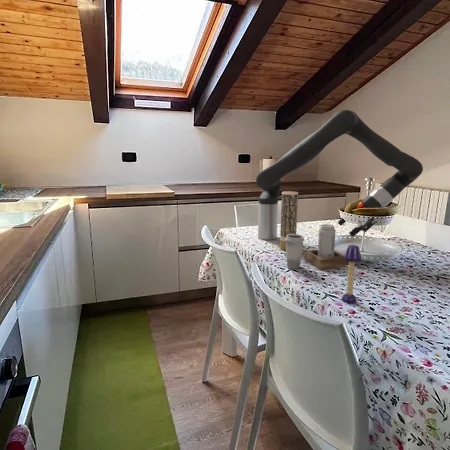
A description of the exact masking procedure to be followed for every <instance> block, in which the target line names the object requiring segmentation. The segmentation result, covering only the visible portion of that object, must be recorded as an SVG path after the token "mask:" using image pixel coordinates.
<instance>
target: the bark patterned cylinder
mask: <svg viewBox="0 0 450 450" xmlns="http://www.w3.org/2000/svg"><path fill="white" fill-rule="evenodd" d="M298 202H299V192H298V191H292V190H291V191H290V190H287V191H286V190H285V191H282V192H281V206H280V207H281V209H280V210H281V211H280V212H281V213H280V237H279V238H280V239H279V248H280V250H283V251H286V240H285V238H286V236H287V235H289V234H297V225H298V205H299V203H298Z"/></svg>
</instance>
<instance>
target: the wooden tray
mask: <svg viewBox="0 0 450 450" xmlns="http://www.w3.org/2000/svg"><path fill="white" fill-rule="evenodd" d="M304 252H305V253H304V255H305V256H304V261H305V262H306V263H308V264H310V265H311V266H313V267H315V268H317V269H318V270H320V271H325V270H332V269H339V268H346V267H347V260H345V259H344V256H345V254H342V253H340V252H338V251H336V250H334V257H331V258H321V257H319V256H318V249H313V250H306V251H304Z"/></svg>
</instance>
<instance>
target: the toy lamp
mask: <svg viewBox="0 0 450 450" xmlns="http://www.w3.org/2000/svg"><path fill="white" fill-rule="evenodd" d="M344 255H345V256H344V259H345V260H347V261H348V265H347V266H348V271H347V280H346V281H347V285H346V293H344V294H342V296H341V301H342V300H343V301H342V302H344V303H346V302H348V303H347V304H355V303H356V302H358V301H357V297H356V296H355V295H354V294H353V293H354V291H353V290H354V283H355V282H354V279H355V269H356V266H355V264H356V263H357V262H360V261H362V254H361V251H360V247H359V246H358V245H357V244H356V245H355V244H349V245H348V246H347V248H346V251H345V254H344Z"/></svg>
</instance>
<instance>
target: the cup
mask: <svg viewBox="0 0 450 450" xmlns="http://www.w3.org/2000/svg"><path fill="white" fill-rule="evenodd" d="M285 240H286V250H285V251H286V253H285V254H286V264H287V265H286V266H287V268H289V269H293V270H295V269H296V270H298V269H300V267H301V261H302V260H301V259H302V257H303V256H302V255H303V248H304V242H305V238H304V236H303V235H302V234H298V233H296V234H289V235H287V236H286V238H285Z"/></svg>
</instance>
